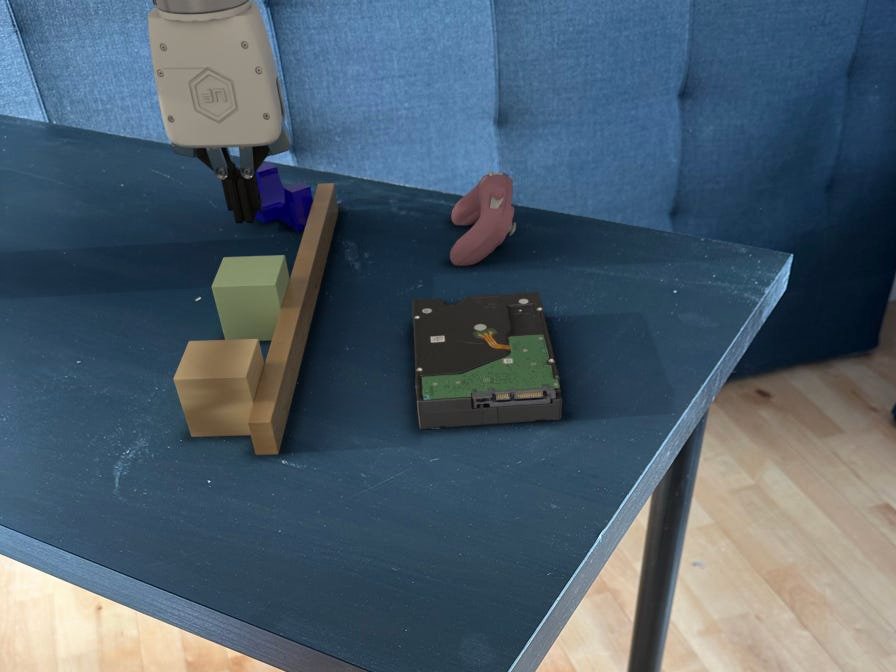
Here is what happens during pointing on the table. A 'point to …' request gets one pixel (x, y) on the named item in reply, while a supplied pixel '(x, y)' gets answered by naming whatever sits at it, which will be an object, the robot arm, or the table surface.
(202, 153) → the robot arm
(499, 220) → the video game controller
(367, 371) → the table surface
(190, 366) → the maple block
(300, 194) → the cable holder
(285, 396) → the rail
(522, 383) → the disk drive
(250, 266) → the sage block
